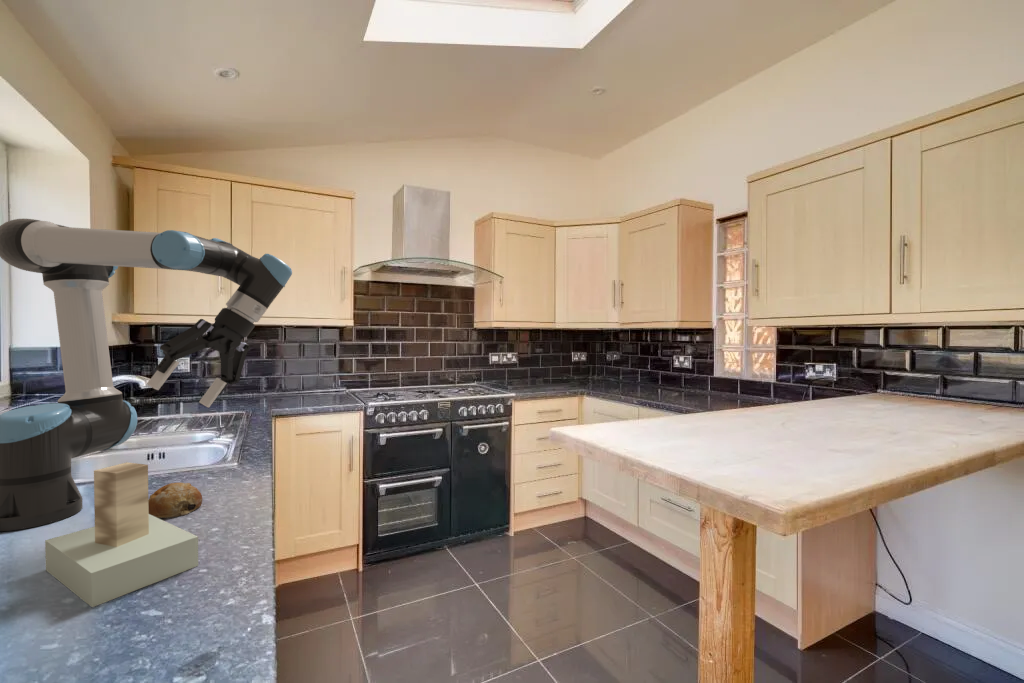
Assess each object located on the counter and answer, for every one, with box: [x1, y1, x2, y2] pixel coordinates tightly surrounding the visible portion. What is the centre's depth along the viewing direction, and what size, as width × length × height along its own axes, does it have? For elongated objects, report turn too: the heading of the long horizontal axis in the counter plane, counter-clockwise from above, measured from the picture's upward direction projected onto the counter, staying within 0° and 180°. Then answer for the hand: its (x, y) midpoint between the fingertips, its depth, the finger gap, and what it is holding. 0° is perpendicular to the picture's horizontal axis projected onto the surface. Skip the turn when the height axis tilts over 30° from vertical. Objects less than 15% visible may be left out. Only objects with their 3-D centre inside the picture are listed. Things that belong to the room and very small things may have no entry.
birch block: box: [93, 461, 149, 547], centre depth 78 cm, size 5×5×12 cm
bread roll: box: [148, 482, 203, 519], centre depth 103 cm, size 10×10×8 cm
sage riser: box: [44, 514, 199, 608], centre depth 78 cm, size 20×14×5 cm
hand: (179, 396), depth 100 cm, fingers open, 13 cm apart
